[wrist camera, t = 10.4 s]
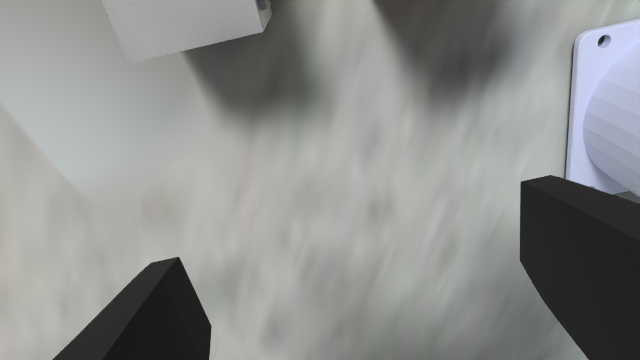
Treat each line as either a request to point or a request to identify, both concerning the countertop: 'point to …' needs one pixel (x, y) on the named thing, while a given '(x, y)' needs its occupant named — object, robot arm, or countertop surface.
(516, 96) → the countertop surface
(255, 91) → the countertop surface
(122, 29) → the block
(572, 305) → the robot arm
